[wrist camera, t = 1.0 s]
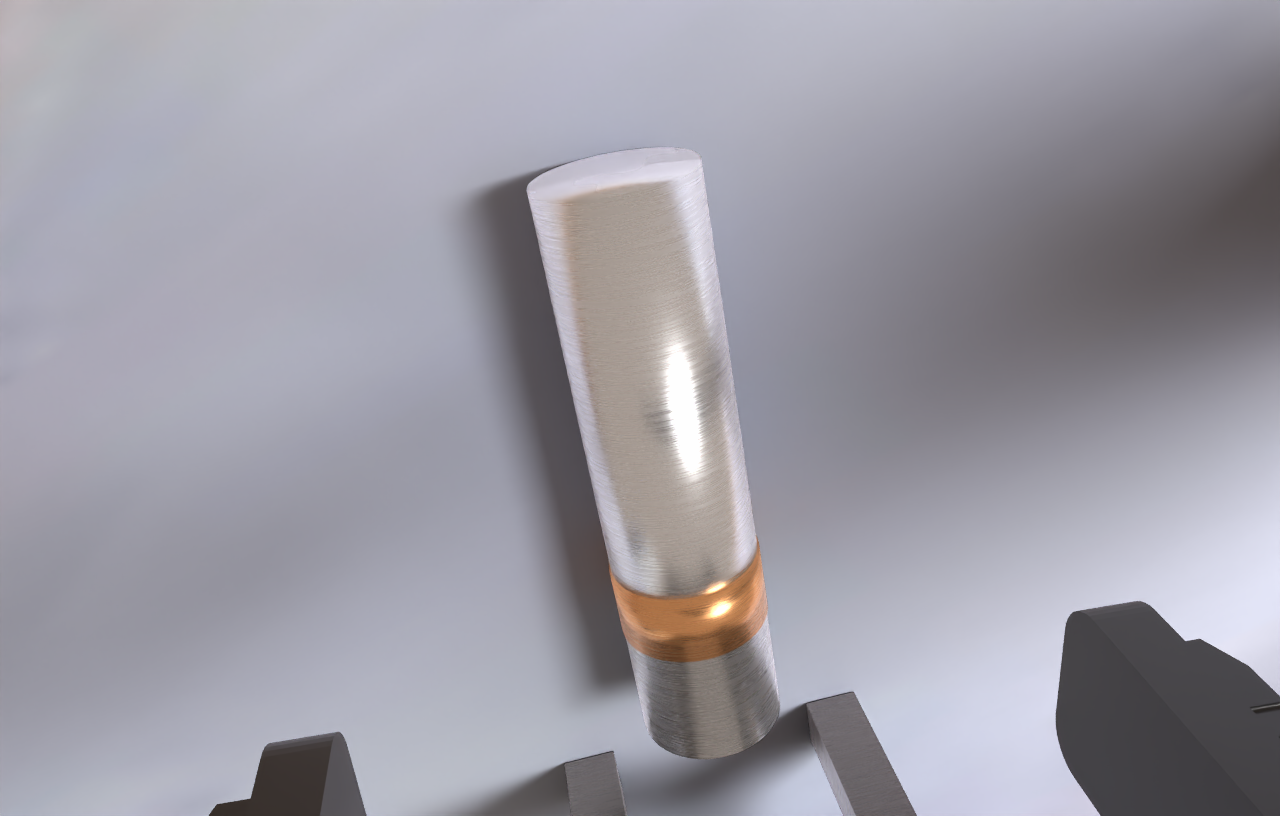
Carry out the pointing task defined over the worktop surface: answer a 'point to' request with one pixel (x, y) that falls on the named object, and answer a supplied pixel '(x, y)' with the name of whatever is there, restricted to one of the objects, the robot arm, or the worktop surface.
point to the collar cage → (839, 740)
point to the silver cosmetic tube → (662, 438)
